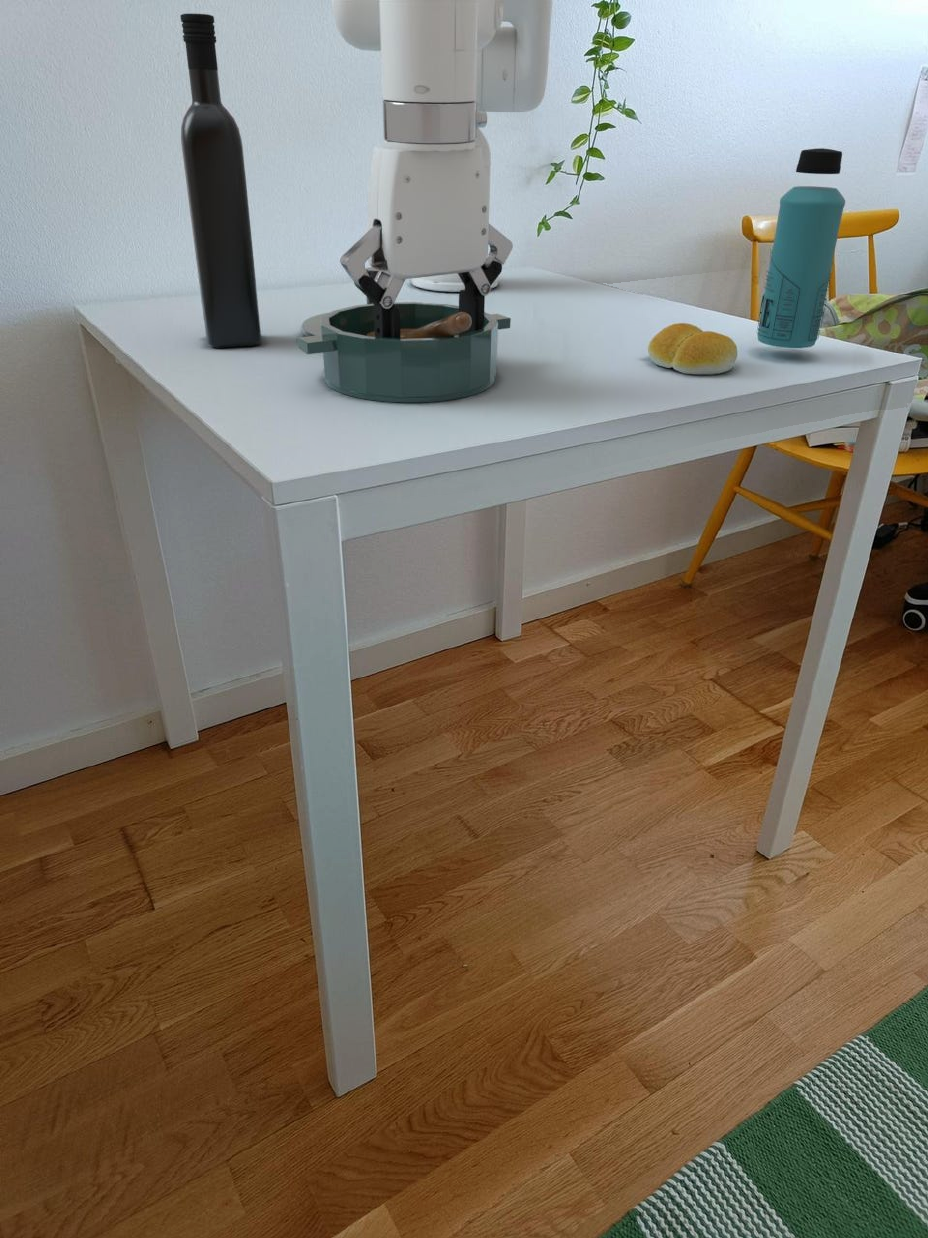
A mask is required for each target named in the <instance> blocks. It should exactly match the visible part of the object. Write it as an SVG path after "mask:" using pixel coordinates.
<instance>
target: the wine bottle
mask: <svg viewBox="0 0 928 1238" xmlns="http://www.w3.org/2000/svg"><path fill="white" fill-rule="evenodd" d="M180 22H181V27H182V34H183V35H182V40H183V42H184V43H185V52H186V61H187V69H188V75H189V84H190V93H191V105H190V106H189V107H188V109H187V111H186V112H185V114H184V116H183V118H182V123H181V125H180V143H181V153H182V159H183V168H184V175H185V182H186V191H187V198H188V208H189V213H190V214H189V215H190V221H191V230H192V238H193V245H194V253H195V261H196V269H197V277H198V284H199V292H200V299H201V307H202V315H203V322H204V323H203V325H204V331H205V336H206V339H207V340H206V341H207V344H208V345H209V346H210V347H212V348H215V349H224V348H239V347H240V348H241V347H255V346H258V345H260V344H261V343H262V331H261V321H260V310H259V300H258V290H257V289H258V288H257V280H256V269H255V259H254V249H253V248H254V247H253V240H252V239H253V238H252V228H251V218H250V208H249V197H248V188H247V177H246V168H245V167H246V166H245V156H244V146H243V140H242V135H241V131H240V128H239V125H238V123H237V122H236V120H235V118H234V117H233V115H232V114H231V113H230V111H229V110H228V109H227V108H226V107H225V106H224V104H223V103H222V102H223V101H222V99H221V97H222V96H221V87H220V78H219V70H218V69H219V68H218V59H217V51H216V43H217V36H215V35H216V30H215V25H214V24H215V17H214V15H212V14H207V13H182V14H180Z"/></svg>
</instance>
